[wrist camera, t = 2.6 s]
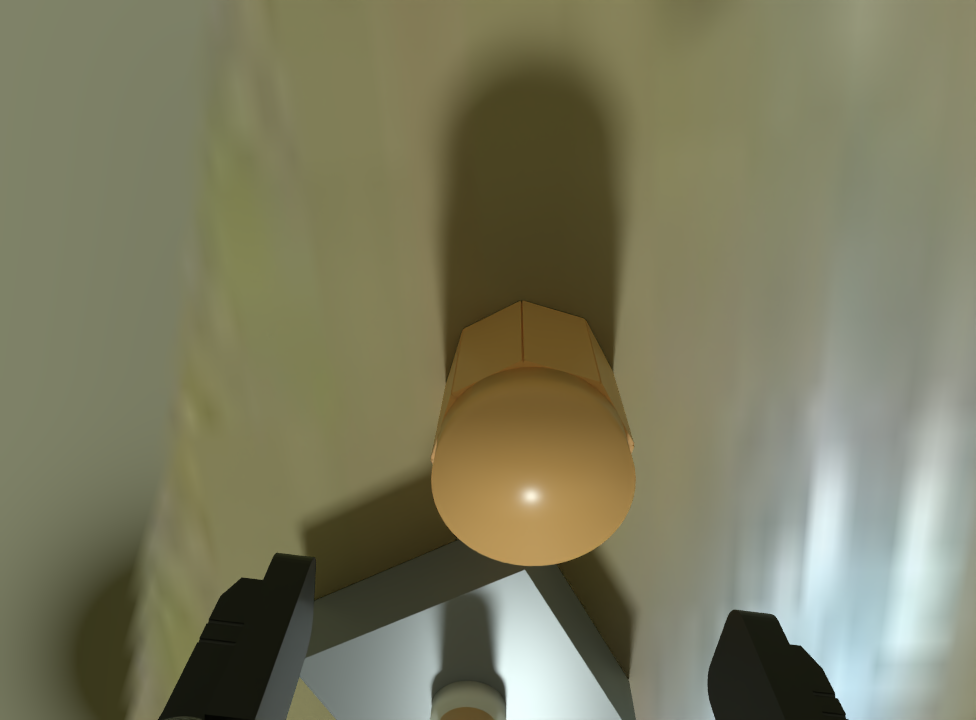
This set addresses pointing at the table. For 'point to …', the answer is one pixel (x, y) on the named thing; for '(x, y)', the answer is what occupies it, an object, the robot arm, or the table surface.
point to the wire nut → (532, 439)
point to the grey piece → (462, 645)
